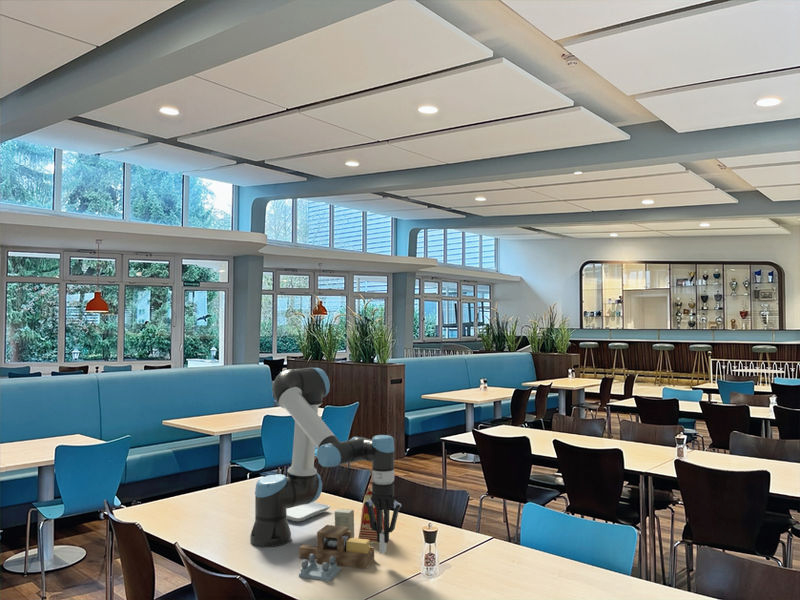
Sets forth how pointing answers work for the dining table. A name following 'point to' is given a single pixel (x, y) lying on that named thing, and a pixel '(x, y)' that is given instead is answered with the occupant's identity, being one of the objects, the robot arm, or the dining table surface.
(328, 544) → the silver metal cylinder
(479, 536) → the dining table surface
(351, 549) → the yellow block
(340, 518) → the skincare box
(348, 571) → the dining table surface
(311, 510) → the salad plate
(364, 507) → the milk carton
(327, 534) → the wooden fixture
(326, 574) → the cradle
